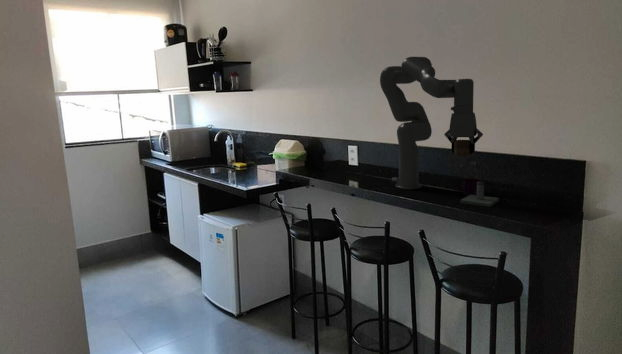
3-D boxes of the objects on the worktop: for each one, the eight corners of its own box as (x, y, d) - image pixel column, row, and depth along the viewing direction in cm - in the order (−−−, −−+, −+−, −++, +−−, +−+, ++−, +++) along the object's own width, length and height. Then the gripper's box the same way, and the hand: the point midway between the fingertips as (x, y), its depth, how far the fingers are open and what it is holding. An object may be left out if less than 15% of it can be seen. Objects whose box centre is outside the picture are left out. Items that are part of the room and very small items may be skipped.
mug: (472, 197, 192) (473, 182, 190) (454, 193, 200) (455, 178, 199) (482, 195, 195) (483, 180, 194) (464, 191, 203) (465, 176, 202)
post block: (460, 202, 183) (461, 183, 181) (470, 197, 192) (471, 178, 191) (490, 206, 176) (491, 186, 174) (499, 200, 185) (500, 181, 183)
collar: (451, 155, 184) (452, 141, 183) (458, 153, 189) (458, 139, 188) (467, 155, 180) (467, 141, 179) (473, 154, 184) (473, 139, 184)
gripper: (439, 110, 184) (439, 153, 187) (481, 109, 173) (480, 154, 176) (446, 109, 189) (446, 151, 192) (488, 108, 178) (487, 152, 181)
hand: (463, 152), depth 184 cm, fingers closed on collar, 6 cm apart
